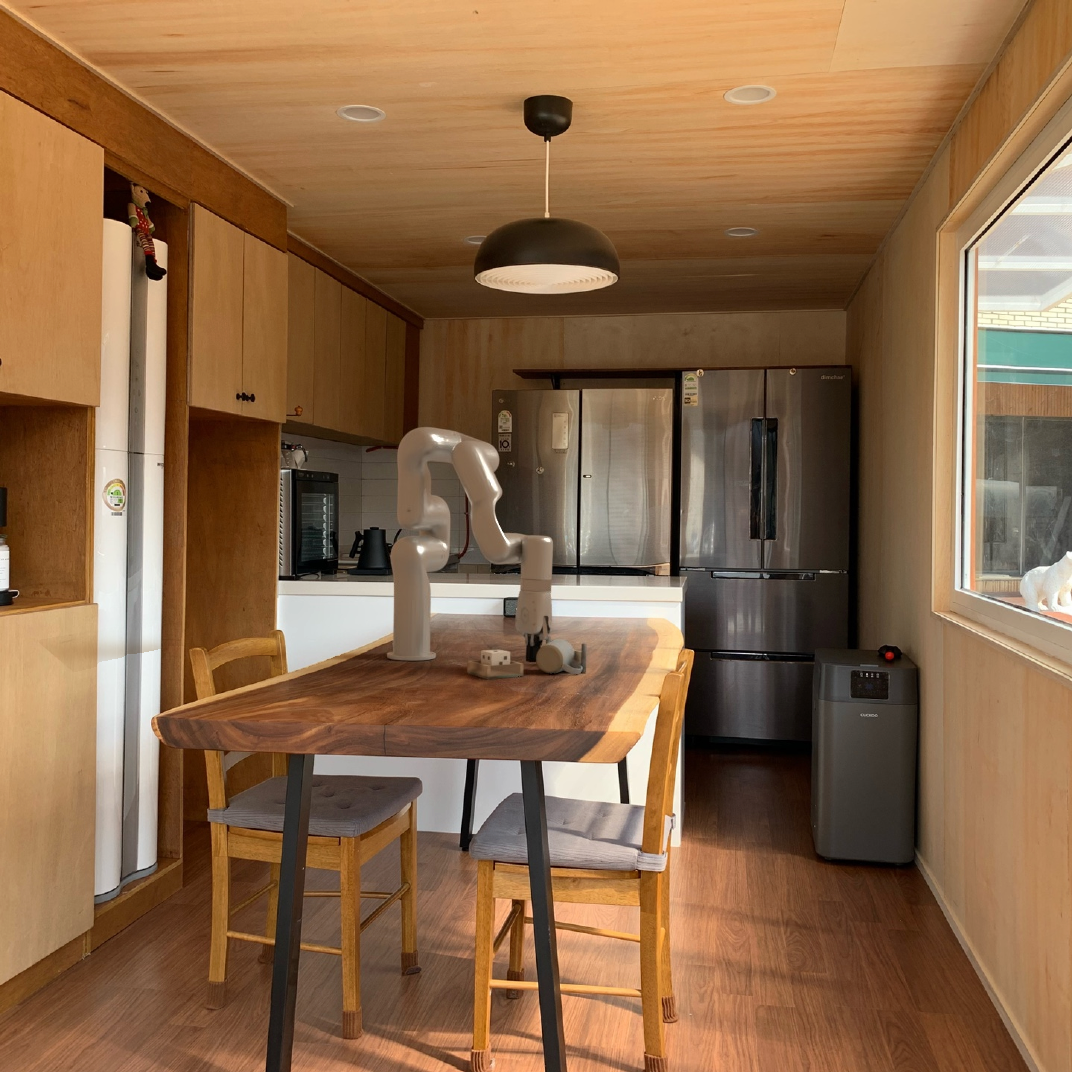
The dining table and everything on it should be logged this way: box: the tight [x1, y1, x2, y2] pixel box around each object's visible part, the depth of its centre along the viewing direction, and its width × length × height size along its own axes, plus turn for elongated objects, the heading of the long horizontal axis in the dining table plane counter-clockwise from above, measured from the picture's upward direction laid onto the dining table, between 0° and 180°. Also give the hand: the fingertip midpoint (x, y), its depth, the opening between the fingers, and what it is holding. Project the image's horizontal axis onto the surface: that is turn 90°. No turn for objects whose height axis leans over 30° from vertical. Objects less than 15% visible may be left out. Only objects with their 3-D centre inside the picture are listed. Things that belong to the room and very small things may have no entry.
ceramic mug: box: [535, 638, 583, 675], centre depth 250 cm, size 11×8×8 cm
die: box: [480, 648, 511, 666], centre depth 244 cm, size 5×5×5 cm
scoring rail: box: [545, 635, 588, 674], centre depth 257 cm, size 17×1×7 cm, turn 32°
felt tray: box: [466, 659, 524, 680], centre depth 244 cm, size 10×10×3 cm
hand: (532, 661), depth 253 cm, fingers closed
